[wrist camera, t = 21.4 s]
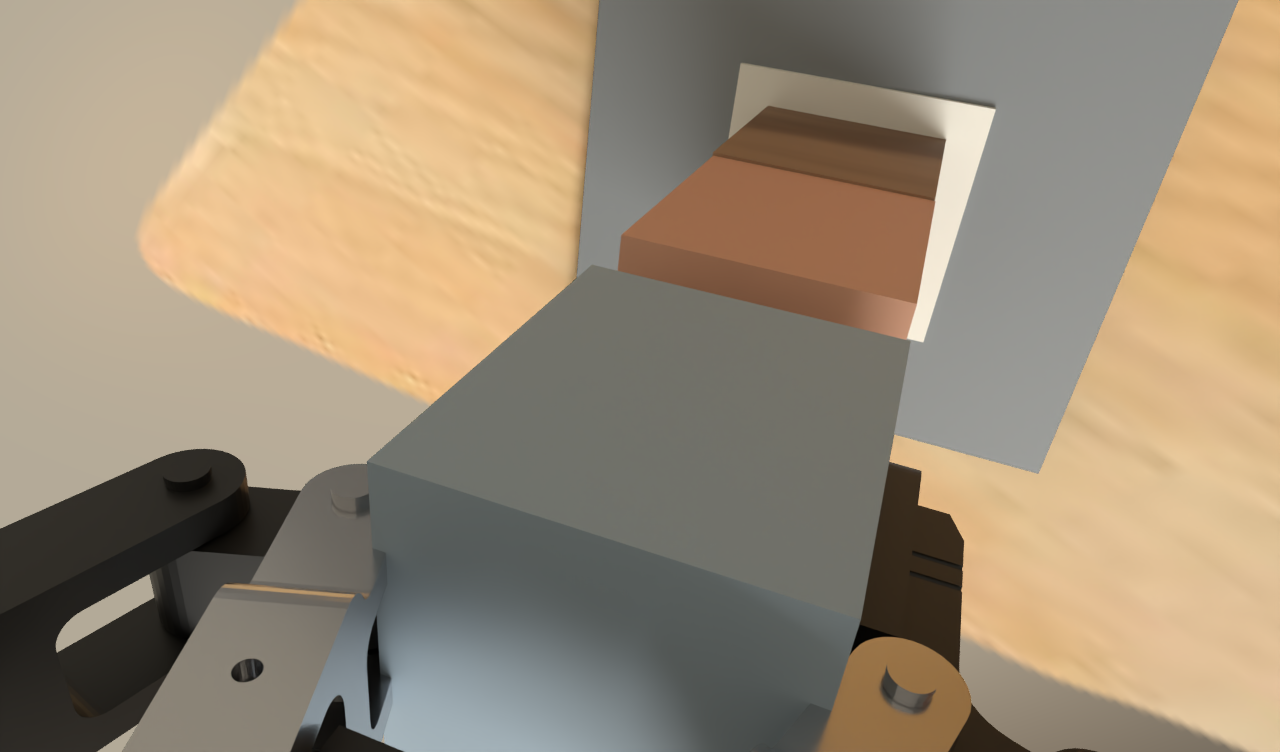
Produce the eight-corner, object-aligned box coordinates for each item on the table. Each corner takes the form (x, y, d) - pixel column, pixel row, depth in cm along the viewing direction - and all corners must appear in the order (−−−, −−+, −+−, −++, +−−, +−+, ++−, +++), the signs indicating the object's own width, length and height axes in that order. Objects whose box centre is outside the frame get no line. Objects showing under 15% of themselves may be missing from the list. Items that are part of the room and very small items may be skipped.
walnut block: (768, 105, 25) (713, 152, 20) (946, 139, 24) (935, 198, 19) (738, 266, 27) (682, 344, 22) (898, 304, 26) (877, 395, 21)
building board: (622, -96, 25) (604, -97, 24) (1230, -12, 21) (1244, -8, 20) (583, 332, 32) (568, 348, 31) (1036, 454, 28) (1038, 477, 27)
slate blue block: (592, 264, 14) (366, 461, 9) (910, 340, 13) (860, 619, 8) (571, 512, 16) (386, 775, 11) (836, 595, 15) (760, 932, 10)
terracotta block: (713, 155, 20) (621, 234, 15) (935, 201, 19) (916, 303, 14) (683, 347, 22) (596, 470, 17) (878, 398, 21) (845, 546, 16)
